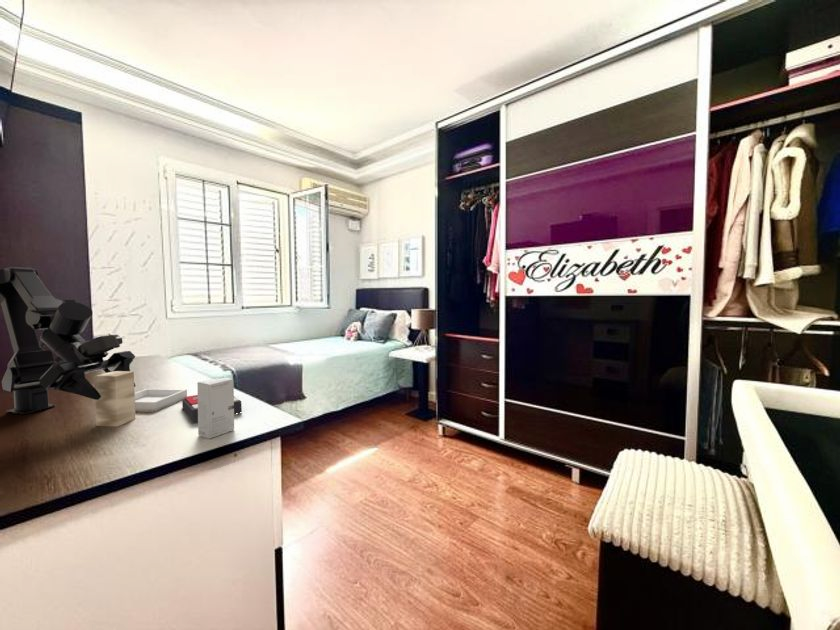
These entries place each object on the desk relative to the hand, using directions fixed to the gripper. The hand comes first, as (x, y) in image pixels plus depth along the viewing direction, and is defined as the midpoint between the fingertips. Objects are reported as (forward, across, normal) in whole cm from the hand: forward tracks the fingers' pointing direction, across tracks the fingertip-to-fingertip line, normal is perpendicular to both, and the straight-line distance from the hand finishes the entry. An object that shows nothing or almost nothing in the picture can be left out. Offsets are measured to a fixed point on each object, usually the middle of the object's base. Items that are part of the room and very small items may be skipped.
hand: (117, 392), depth 82 cm
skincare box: (+24, -5, -14) cm, 28 cm away
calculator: (+18, +9, -6) cm, 21 cm away
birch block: (+5, 0, +6) cm, 7 cm away
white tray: (+3, +14, +8) cm, 16 cm away
